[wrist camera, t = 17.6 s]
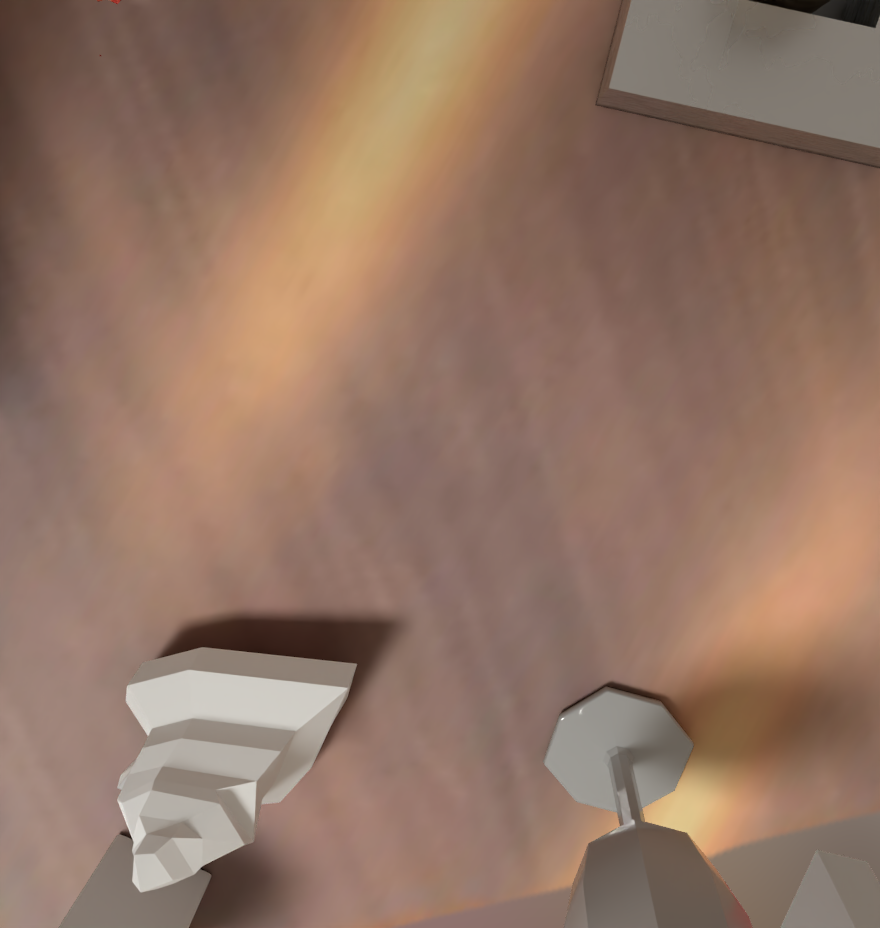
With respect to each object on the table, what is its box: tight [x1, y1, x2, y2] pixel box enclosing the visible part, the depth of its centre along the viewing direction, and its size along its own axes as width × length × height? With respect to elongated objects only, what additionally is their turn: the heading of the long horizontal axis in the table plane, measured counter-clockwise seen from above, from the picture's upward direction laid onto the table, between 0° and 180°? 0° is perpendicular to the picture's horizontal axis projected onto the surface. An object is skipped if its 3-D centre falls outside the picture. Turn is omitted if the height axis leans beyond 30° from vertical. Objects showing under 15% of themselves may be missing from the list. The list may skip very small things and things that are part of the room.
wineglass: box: [543, 686, 753, 928], centre depth 38 cm, size 9×9×21 cm
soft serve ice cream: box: [117, 647, 357, 892], centre depth 44 cm, size 12×15×14 cm
